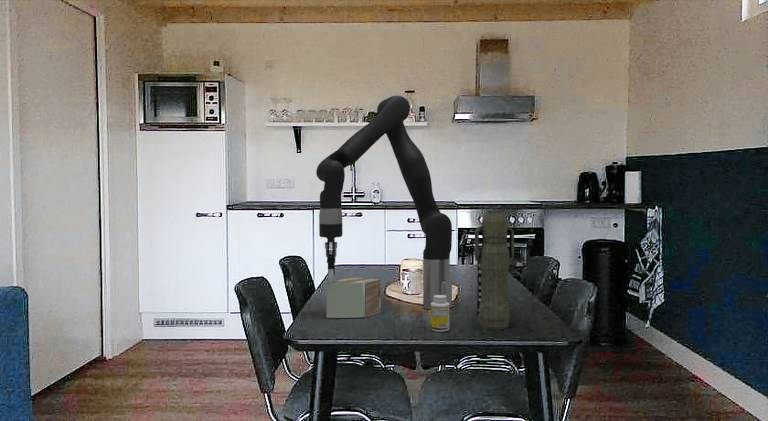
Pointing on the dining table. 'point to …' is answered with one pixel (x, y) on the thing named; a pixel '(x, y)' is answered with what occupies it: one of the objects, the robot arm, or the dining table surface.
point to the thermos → (494, 269)
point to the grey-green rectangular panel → (344, 299)
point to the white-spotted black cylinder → (478, 287)
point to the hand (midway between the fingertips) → (331, 275)
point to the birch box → (368, 293)
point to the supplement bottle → (440, 314)
